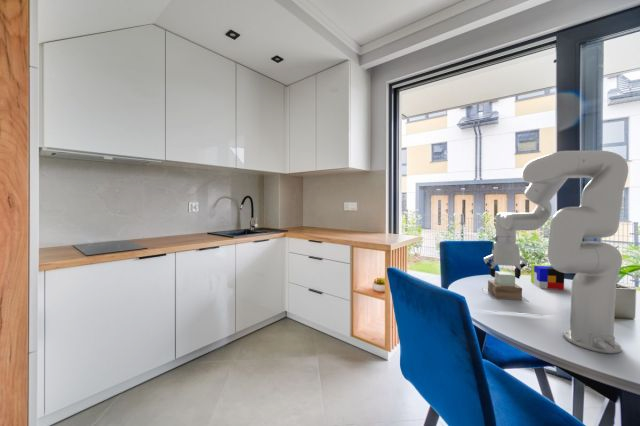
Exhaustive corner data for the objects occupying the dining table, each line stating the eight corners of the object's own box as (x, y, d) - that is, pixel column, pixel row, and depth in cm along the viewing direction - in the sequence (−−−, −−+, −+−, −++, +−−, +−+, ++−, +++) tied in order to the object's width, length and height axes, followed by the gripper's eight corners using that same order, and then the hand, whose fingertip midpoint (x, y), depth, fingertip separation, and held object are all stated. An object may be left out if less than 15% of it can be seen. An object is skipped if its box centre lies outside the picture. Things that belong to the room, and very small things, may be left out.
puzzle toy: (539, 287, 135) (540, 268, 135) (531, 282, 145) (531, 263, 144) (563, 289, 132) (564, 269, 132) (553, 283, 142) (554, 265, 141)
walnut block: (521, 299, 116) (522, 288, 116) (495, 297, 119) (496, 286, 119) (511, 291, 126) (512, 281, 126) (487, 290, 129) (488, 280, 128)
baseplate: (529, 304, 114) (529, 301, 114) (492, 301, 118) (492, 298, 118) (514, 293, 127) (514, 290, 127) (481, 291, 131) (481, 288, 131)
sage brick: (515, 286, 119) (515, 275, 118) (499, 285, 120) (500, 274, 120) (508, 282, 124) (509, 271, 124) (494, 281, 126) (494, 271, 126)
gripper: (486, 240, 120) (486, 278, 120) (531, 241, 115) (531, 280, 116) (481, 238, 127) (480, 273, 128) (523, 239, 123) (522, 276, 123)
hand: (504, 277), depth 122 cm, fingers open, 9 cm apart
